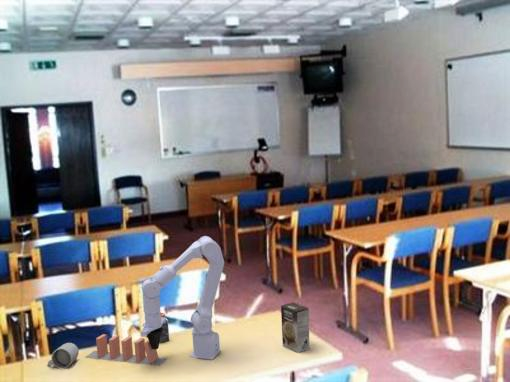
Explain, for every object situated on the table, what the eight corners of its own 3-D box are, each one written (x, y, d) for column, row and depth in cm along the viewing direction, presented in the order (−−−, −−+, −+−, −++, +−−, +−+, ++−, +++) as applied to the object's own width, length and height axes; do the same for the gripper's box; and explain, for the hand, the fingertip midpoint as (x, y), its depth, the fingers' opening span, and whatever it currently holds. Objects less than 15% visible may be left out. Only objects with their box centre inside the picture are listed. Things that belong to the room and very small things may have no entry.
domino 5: (158, 358, 214) (153, 338, 213) (152, 362, 210) (147, 343, 209) (155, 358, 214) (149, 339, 214) (148, 363, 210) (143, 343, 210)
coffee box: (281, 346, 220) (279, 305, 218) (294, 341, 224) (293, 301, 222) (297, 353, 213) (295, 311, 211) (310, 348, 217) (309, 307, 215)
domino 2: (120, 354, 219) (118, 335, 218) (113, 359, 215) (112, 340, 214) (116, 354, 220) (115, 335, 219) (110, 359, 216) (108, 339, 215)
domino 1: (108, 353, 221) (106, 334, 220) (101, 358, 217) (99, 338, 216) (104, 352, 222) (102, 334, 221) (97, 357, 218) (96, 338, 217)
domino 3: (133, 356, 217) (131, 336, 217) (126, 360, 213) (125, 341, 212) (129, 355, 218) (127, 336, 217) (122, 360, 214) (121, 341, 213)
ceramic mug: (80, 359, 218) (78, 339, 217) (72, 368, 210) (70, 348, 209) (53, 360, 219) (51, 340, 218) (44, 369, 211) (41, 349, 210)
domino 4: (145, 357, 216) (144, 338, 215) (139, 362, 212) (138, 342, 211) (142, 357, 216) (140, 337, 215) (135, 361, 212) (134, 342, 211)
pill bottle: (171, 338, 234) (169, 311, 233) (167, 344, 228) (165, 316, 227) (156, 338, 235) (154, 311, 233) (152, 344, 229) (150, 316, 228)
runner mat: (168, 359, 214) (167, 358, 214) (159, 366, 208) (159, 365, 208) (94, 351, 225) (94, 350, 225) (84, 358, 219) (84, 357, 219)
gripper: (152, 305, 217) (155, 340, 219) (132, 318, 204) (135, 355, 206) (169, 306, 215) (172, 341, 217) (149, 320, 201) (152, 357, 203)
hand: (155, 348), depth 211 cm, fingers closed
